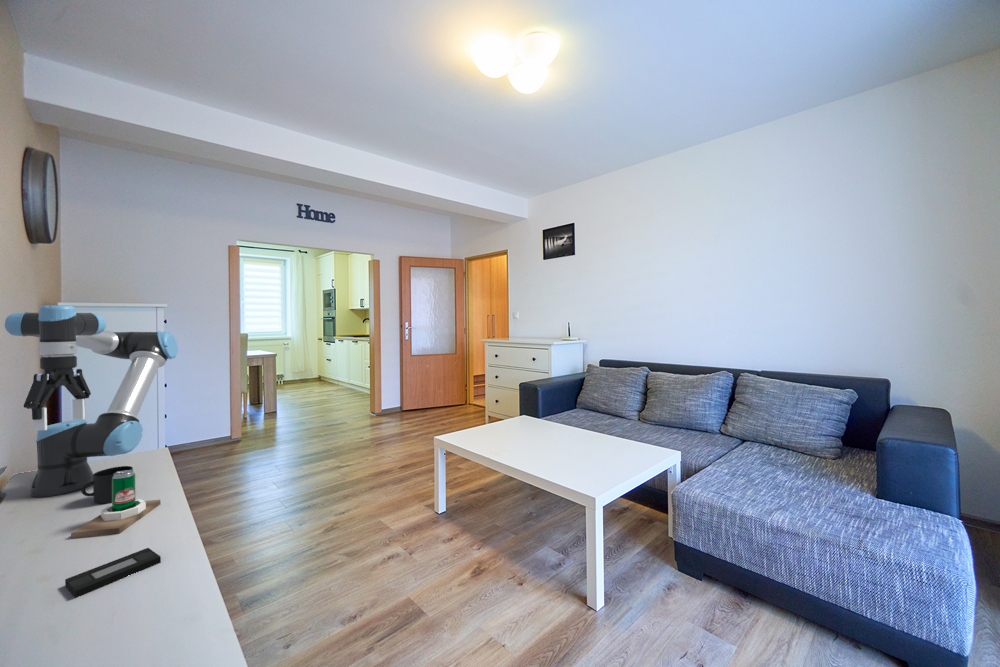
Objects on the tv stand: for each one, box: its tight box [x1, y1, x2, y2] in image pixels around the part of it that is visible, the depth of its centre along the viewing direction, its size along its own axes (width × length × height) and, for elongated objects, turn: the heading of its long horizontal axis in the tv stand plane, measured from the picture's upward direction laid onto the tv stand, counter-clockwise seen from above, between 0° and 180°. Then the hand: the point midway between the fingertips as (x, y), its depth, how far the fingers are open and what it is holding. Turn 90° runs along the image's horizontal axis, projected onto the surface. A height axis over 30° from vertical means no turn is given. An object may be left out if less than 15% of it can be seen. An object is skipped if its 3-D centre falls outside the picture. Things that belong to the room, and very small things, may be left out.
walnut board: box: [70, 499, 161, 539], centre depth 116 cm, size 18×11×2 cm, turn 13°
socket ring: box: [100, 498, 146, 521], centre depth 117 cm, size 9×9×2 cm
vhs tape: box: [64, 547, 162, 599], centre depth 91 cm, size 8×14×2 cm, turn 149°
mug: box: [81, 465, 134, 505], centre depth 129 cm, size 9×12×9 cm
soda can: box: [111, 469, 136, 512], centre depth 117 cm, size 5×5×12 cm
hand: (60, 424), depth 121 cm, fingers open, 13 cm apart
